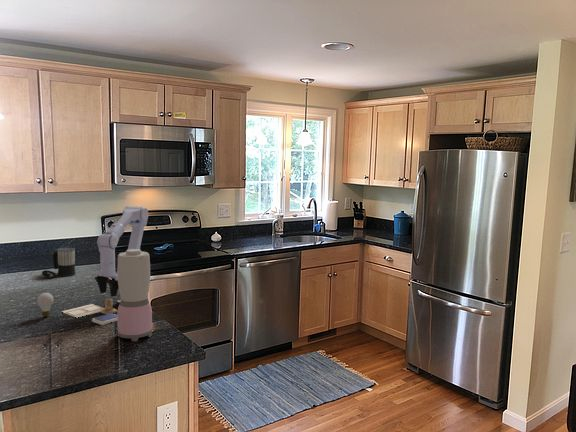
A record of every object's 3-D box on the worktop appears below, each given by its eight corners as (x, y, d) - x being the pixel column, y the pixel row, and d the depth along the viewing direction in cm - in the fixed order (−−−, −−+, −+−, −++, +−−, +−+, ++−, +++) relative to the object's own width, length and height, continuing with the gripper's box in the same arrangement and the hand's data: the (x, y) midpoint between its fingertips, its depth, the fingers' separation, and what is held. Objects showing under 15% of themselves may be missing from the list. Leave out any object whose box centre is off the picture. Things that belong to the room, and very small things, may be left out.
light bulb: (38, 315, 193) (38, 291, 192) (54, 313, 195) (53, 290, 194) (36, 319, 188) (35, 295, 187) (53, 318, 190) (52, 294, 189)
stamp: (110, 310, 201) (110, 297, 201) (116, 312, 199) (116, 299, 198) (101, 313, 198) (100, 299, 197) (107, 315, 195) (106, 301, 194)
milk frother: (79, 273, 267) (78, 247, 265) (63, 280, 251) (62, 252, 250) (55, 272, 268) (54, 246, 267) (38, 278, 253) (37, 251, 251)
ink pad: (112, 315, 194) (111, 312, 194) (122, 319, 190) (122, 315, 190) (92, 321, 187) (91, 317, 187) (102, 325, 183) (101, 321, 183)
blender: (159, 335, 174) (158, 250, 170) (129, 344, 164) (128, 254, 161) (135, 325, 184) (133, 245, 180) (106, 333, 174) (104, 249, 171)
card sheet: (92, 304, 209) (92, 303, 209) (107, 309, 202) (107, 309, 202) (61, 312, 198) (61, 311, 198) (76, 318, 191) (76, 317, 191)
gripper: (89, 261, 197) (90, 293, 198) (109, 266, 188) (110, 299, 190) (104, 259, 203) (105, 289, 204) (124, 263, 194) (125, 295, 195)
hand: (108, 294), depth 197 cm, fingers open, 7 cm apart
